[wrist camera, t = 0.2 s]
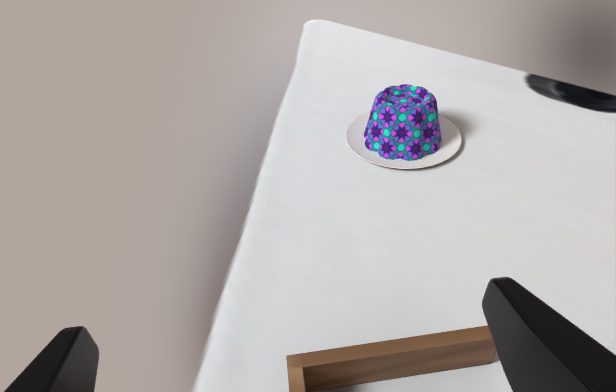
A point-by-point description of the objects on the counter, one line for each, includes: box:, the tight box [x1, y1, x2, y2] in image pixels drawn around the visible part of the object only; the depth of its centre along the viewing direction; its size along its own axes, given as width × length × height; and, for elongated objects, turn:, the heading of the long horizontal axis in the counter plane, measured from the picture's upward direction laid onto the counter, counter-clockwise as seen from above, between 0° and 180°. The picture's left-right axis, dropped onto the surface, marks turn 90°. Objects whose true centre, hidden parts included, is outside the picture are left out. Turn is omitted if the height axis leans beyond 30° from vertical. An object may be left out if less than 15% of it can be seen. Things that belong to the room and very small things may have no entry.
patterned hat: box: [345, 84, 462, 169], centre depth 42 cm, size 12×12×5 cm
